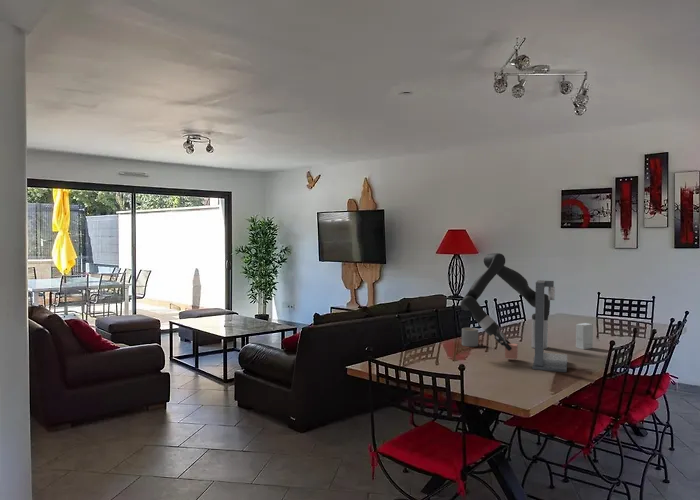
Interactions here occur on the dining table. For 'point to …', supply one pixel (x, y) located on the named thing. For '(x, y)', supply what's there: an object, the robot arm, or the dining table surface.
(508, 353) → the pink block
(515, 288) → the robot arm
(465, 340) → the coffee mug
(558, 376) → the dining table surface
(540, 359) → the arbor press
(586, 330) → the skincare box
